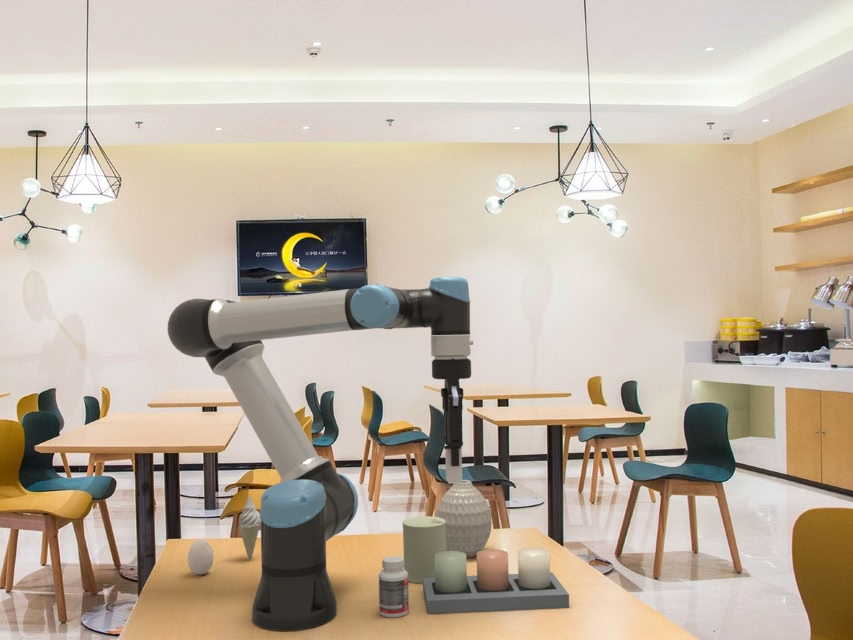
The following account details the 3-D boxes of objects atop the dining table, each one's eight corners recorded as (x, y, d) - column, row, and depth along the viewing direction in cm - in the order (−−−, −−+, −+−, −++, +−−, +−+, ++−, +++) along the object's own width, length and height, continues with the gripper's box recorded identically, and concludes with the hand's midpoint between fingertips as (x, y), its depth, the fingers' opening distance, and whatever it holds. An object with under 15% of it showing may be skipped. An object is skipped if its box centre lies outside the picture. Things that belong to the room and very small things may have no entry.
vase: (494, 561, 166) (492, 486, 167) (436, 562, 167) (434, 487, 167) (490, 545, 179) (488, 475, 180) (436, 546, 179) (434, 476, 180)
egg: (194, 580, 158) (193, 543, 158) (183, 574, 162) (183, 538, 162) (218, 574, 162) (217, 538, 162) (207, 569, 166) (206, 534, 166)
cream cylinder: (522, 589, 140) (521, 557, 141) (516, 579, 146) (515, 548, 147) (553, 587, 141) (552, 555, 141) (546, 577, 147) (545, 546, 147)
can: (443, 584, 152) (441, 525, 152) (398, 582, 154) (397, 523, 154) (450, 570, 161) (449, 514, 161) (408, 569, 163) (407, 513, 163)
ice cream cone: (266, 559, 172) (264, 493, 173) (249, 565, 168) (248, 497, 168) (250, 556, 175) (249, 491, 175) (234, 561, 171) (232, 495, 171)
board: (427, 614, 136) (427, 600, 136) (423, 590, 149) (422, 578, 149) (569, 607, 138) (568, 594, 138) (552, 584, 150) (552, 572, 151)
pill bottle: (411, 616, 135) (410, 561, 135) (382, 619, 134) (380, 564, 134) (405, 606, 140) (404, 553, 140) (377, 609, 139) (376, 556, 139)
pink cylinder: (479, 591, 140) (478, 558, 140) (475, 580, 146) (474, 549, 146) (511, 589, 140) (510, 557, 141) (505, 579, 146) (505, 548, 146)
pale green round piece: (436, 593, 139) (436, 560, 140) (434, 582, 145) (433, 551, 146) (468, 591, 140) (468, 559, 140) (465, 581, 146) (464, 550, 146)
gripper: (476, 358, 136) (479, 488, 136) (465, 356, 152) (468, 473, 151) (434, 359, 136) (437, 490, 135) (428, 357, 151) (431, 474, 151)
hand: (454, 481), depth 143 cm, fingers open, 3 cm apart
